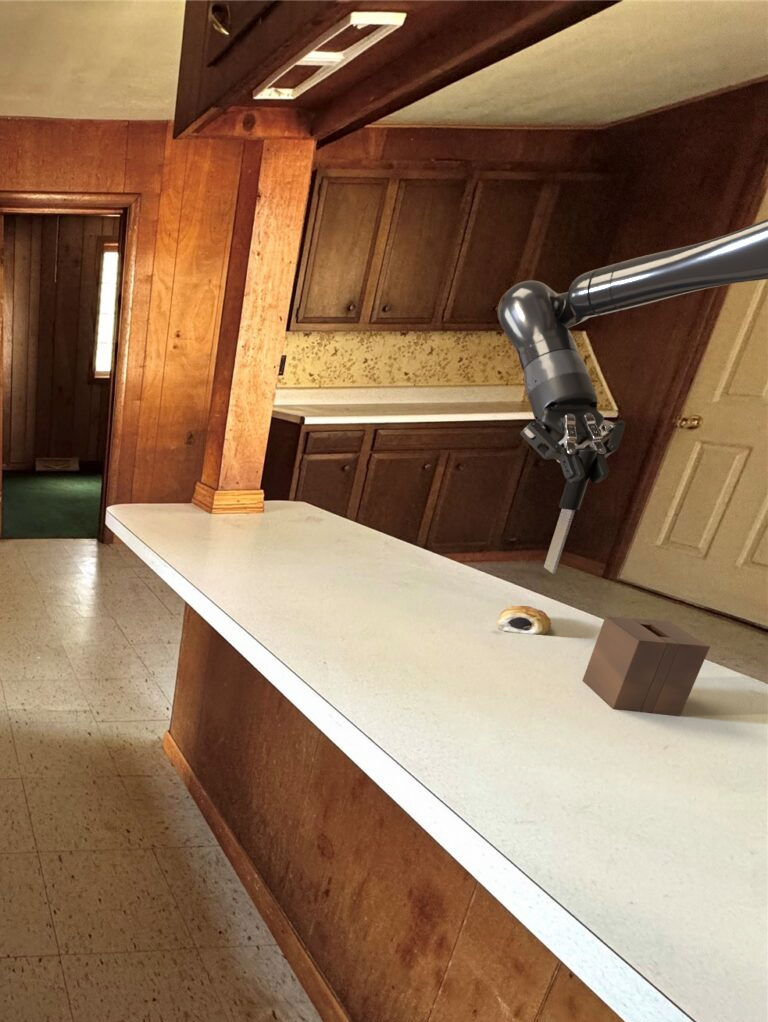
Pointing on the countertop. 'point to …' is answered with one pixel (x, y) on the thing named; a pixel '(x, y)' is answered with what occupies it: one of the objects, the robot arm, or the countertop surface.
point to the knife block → (644, 665)
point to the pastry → (524, 620)
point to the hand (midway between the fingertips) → (588, 479)
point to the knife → (569, 507)
